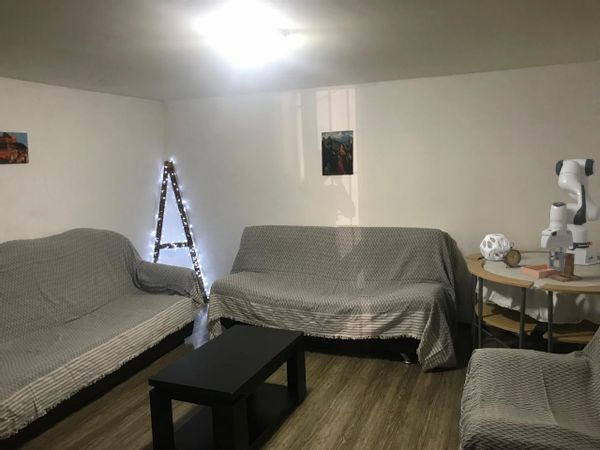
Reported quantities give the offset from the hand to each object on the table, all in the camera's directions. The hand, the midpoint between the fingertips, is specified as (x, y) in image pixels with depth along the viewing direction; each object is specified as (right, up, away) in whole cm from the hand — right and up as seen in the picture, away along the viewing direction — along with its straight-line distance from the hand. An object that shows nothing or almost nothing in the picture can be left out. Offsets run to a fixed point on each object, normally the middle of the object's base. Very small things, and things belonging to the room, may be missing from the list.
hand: (556, 255), depth 273 cm
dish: (0, -12, +15) cm, 20 cm away
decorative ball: (-12, -7, +57) cm, 59 cm away
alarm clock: (-11, -10, +35) cm, 38 cm away
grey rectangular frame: (0, -8, +1) cm, 8 cm away
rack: (+6, -14, +4) cm, 15 cm away
